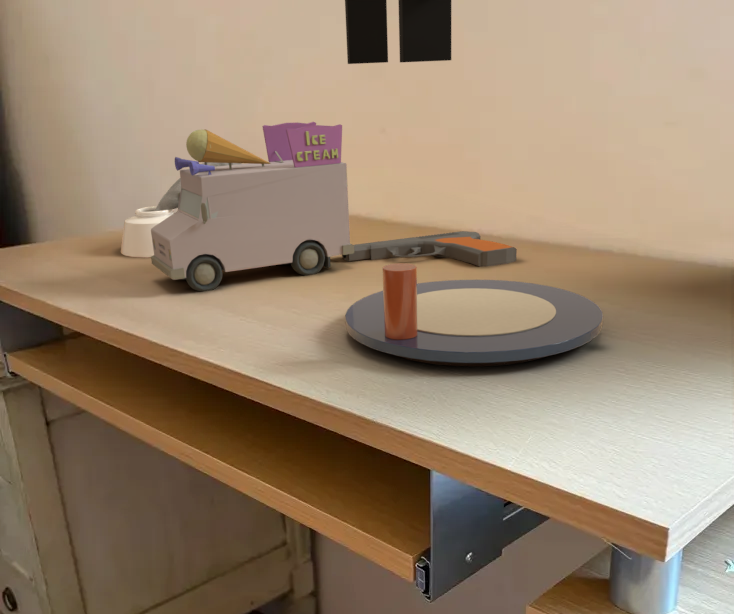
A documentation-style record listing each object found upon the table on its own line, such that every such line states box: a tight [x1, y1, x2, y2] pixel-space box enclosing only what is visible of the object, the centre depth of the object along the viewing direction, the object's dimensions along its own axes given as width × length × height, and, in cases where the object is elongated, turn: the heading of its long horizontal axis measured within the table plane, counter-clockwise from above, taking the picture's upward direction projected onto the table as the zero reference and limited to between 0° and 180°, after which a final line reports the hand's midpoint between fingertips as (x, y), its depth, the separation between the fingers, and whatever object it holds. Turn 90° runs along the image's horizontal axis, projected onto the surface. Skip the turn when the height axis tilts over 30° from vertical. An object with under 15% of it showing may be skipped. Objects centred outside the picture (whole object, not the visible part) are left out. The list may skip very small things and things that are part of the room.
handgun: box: [341, 230, 518, 268], centre depth 90 cm, size 2×16×12 cm
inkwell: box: [120, 162, 242, 259], centre depth 102 cm, size 9×18×10 cm, turn 129°
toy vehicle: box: [150, 121, 355, 292], centre depth 84 cm, size 9×20×15 cm, turn 117°
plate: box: [344, 262, 604, 363], centre depth 64 cm, size 20×20×6 cm
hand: (393, 63), depth 51 cm, fingers open, 13 cm apart
